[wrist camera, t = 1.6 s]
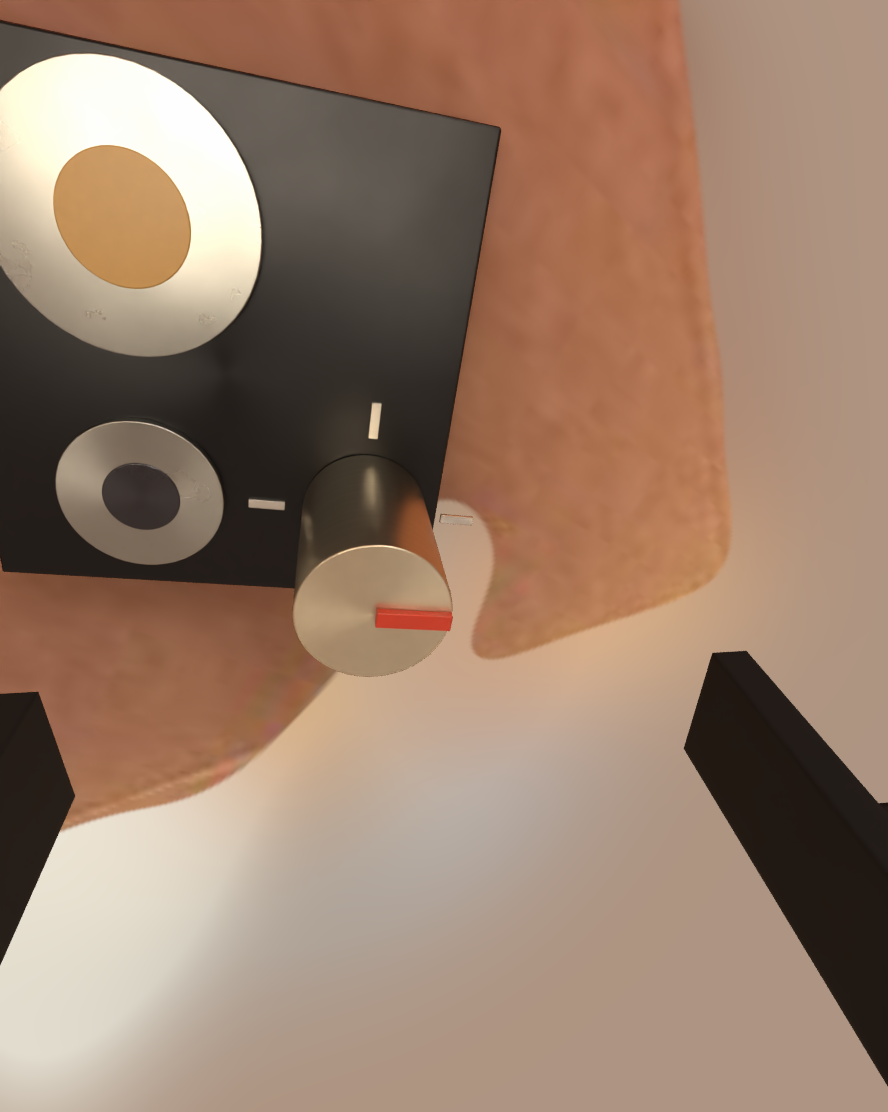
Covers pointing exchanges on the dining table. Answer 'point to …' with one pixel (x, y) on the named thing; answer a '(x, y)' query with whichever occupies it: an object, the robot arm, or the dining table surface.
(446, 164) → the stove
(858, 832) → the robot arm
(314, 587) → the stove knob
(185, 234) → the burners
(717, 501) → the dining table surface
